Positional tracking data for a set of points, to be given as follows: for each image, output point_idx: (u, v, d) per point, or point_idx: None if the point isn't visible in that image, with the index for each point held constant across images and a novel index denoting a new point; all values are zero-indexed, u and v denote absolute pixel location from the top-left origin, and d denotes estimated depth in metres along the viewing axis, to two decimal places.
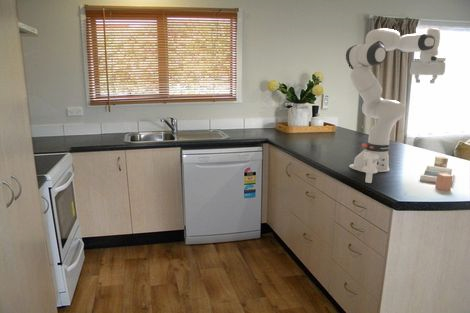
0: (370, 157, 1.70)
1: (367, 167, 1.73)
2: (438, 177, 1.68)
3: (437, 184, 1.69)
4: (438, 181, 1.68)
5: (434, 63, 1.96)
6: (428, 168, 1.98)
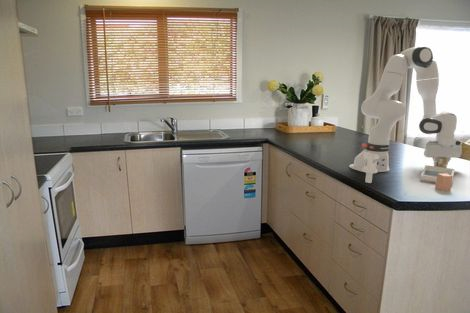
0: (370, 157, 1.70)
1: (367, 167, 1.73)
2: (438, 177, 1.68)
3: (437, 184, 1.69)
4: (438, 181, 1.68)
5: (456, 147, 1.98)
6: (428, 168, 1.98)
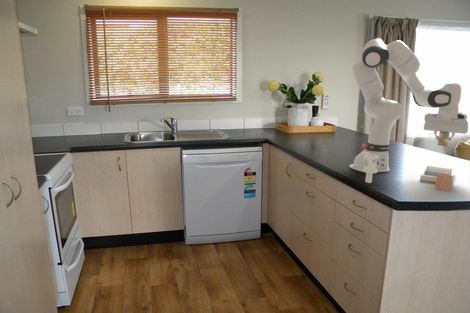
0: (370, 157, 1.70)
1: (367, 167, 1.73)
2: (438, 177, 1.68)
3: (437, 184, 1.69)
4: (438, 181, 1.68)
5: (460, 121, 1.81)
6: (428, 168, 1.98)
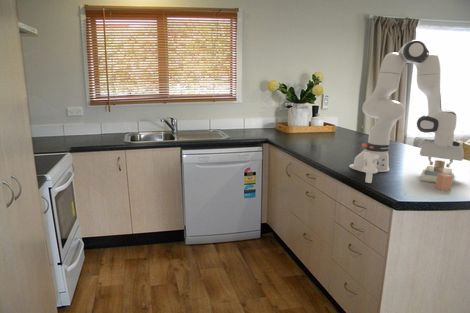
0: (370, 157, 1.70)
1: (367, 167, 1.73)
2: (438, 177, 1.68)
3: (437, 184, 1.69)
4: (438, 181, 1.68)
5: (456, 148, 1.83)
6: (428, 168, 1.98)
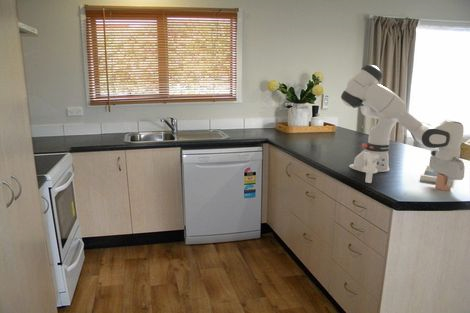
0: (370, 157, 1.70)
1: (367, 167, 1.73)
2: (438, 177, 1.68)
3: (437, 184, 1.69)
4: (438, 181, 1.68)
5: None
6: (428, 168, 1.98)
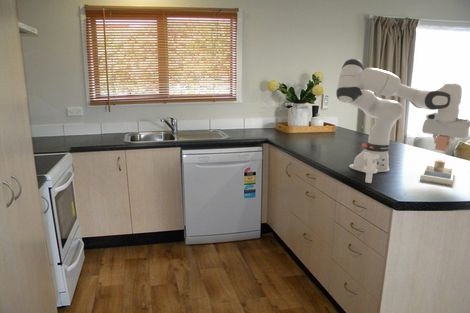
0: (370, 157, 1.70)
1: (367, 167, 1.73)
2: (439, 139, 1.75)
3: (438, 146, 1.76)
4: (439, 143, 1.75)
5: None
6: (428, 168, 1.98)
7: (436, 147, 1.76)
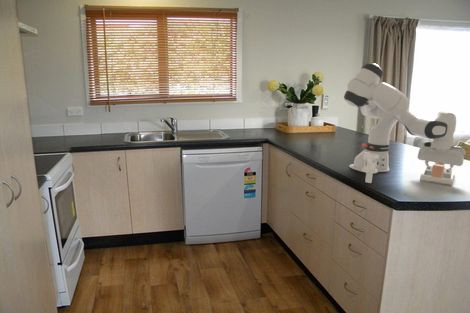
0: (370, 157, 1.70)
1: (367, 167, 1.73)
2: (434, 169, 1.79)
3: (433, 175, 1.80)
4: (435, 172, 1.80)
5: None
6: None
7: (432, 176, 1.81)
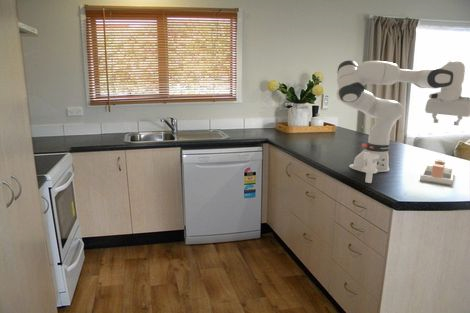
0: (370, 157, 1.70)
1: (367, 167, 1.73)
2: (434, 169, 1.79)
3: (433, 175, 1.80)
4: (435, 172, 1.80)
5: None
6: (428, 168, 1.98)
7: (432, 176, 1.81)
